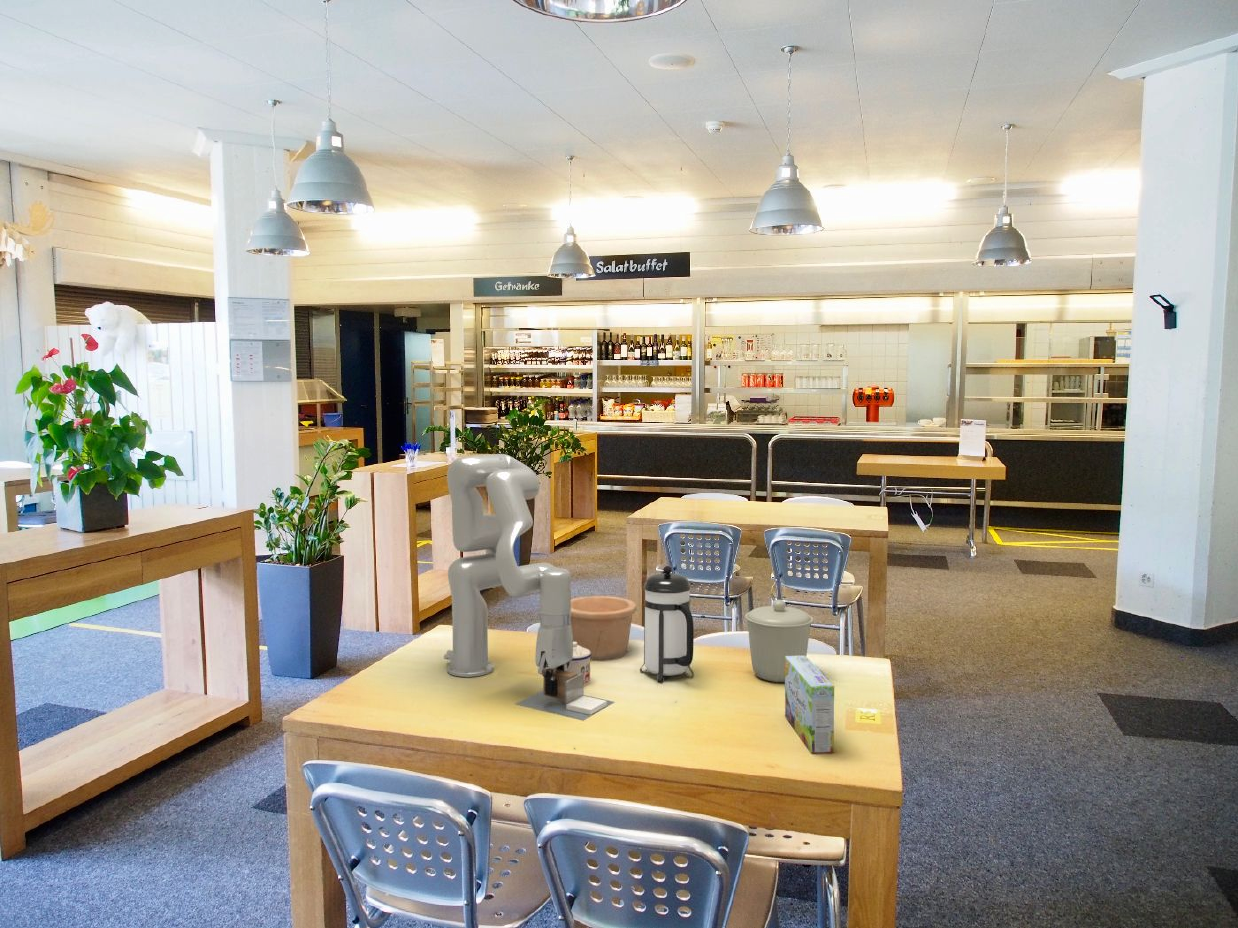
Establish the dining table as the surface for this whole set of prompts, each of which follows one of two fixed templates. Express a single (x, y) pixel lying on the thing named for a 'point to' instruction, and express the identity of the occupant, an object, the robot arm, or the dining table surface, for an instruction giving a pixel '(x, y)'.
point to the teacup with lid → (580, 662)
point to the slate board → (555, 705)
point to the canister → (776, 638)
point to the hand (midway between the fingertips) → (555, 691)
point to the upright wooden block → (568, 685)
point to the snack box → (809, 704)
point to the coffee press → (667, 625)
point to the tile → (586, 705)
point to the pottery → (602, 625)
